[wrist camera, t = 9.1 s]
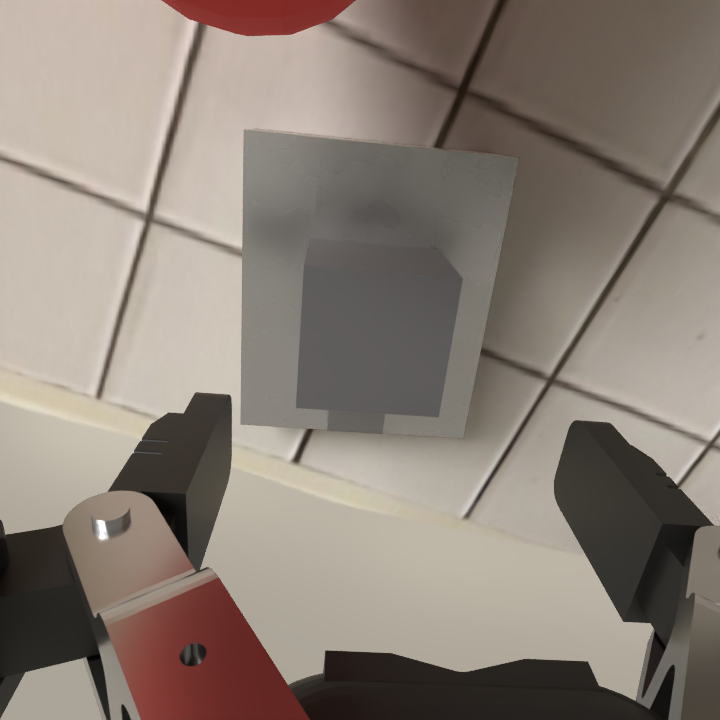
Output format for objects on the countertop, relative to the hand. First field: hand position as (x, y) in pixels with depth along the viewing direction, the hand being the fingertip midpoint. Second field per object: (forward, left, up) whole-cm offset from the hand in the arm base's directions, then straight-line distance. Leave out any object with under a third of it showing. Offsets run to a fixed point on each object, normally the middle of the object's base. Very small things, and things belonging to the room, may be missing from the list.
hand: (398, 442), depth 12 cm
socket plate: (0, 0, -14) cm, 14 cm away
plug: (0, 0, -13) cm, 13 cm away
